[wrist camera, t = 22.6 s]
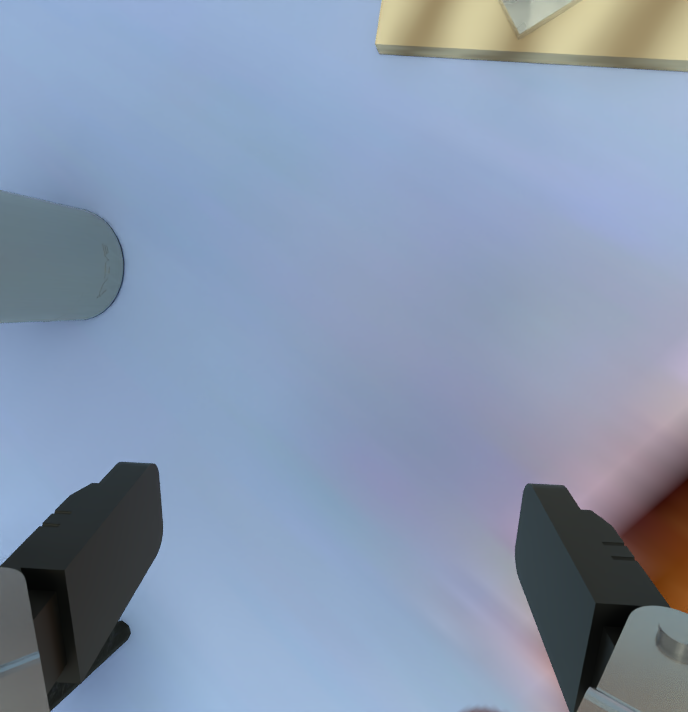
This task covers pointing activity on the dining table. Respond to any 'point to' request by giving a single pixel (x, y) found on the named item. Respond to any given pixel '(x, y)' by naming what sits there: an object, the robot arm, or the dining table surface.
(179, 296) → the dining table surface
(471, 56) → the base plate
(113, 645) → the solar garden light
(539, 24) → the sleeve
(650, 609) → the robot arm
